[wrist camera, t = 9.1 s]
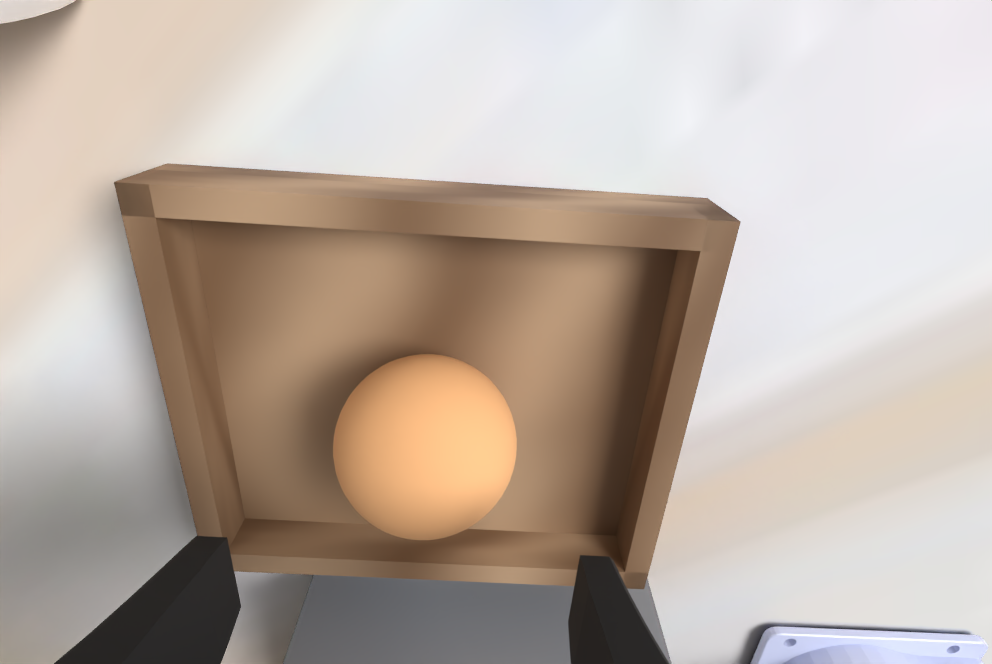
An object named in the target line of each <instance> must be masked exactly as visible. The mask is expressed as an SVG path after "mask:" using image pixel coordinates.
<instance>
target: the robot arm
mask: <svg viewBox="0 0 992 664" xmlns="http://www.w3.org/2000/svg"><path fill="white" fill-rule="evenodd" d="M240 608H241V604H240V599H239V594H238V589H237V584H236V579H235V574H234V569H233V564H232V559H231V554H230V549H229V544H228V539H227V537H209V536H196V537H195V538H194V539H193V540H191V541H190V542H189V543H188V544H187V545H186V546H185V547H184V548H183V549H182V550H181V551H179V552H178V553H177V554H176V555H175V556H174V557H173V558H172V559H171V560H170V561H169V562H168V563H167V564H166V565H165V566H163V567H162V568H161V569H160V570H159V571H158V572H157V573H156V574H155V575H154V576H153V577H152V578H151V579H150V580H148V581H147V582H146V583H145V584H144V585H143V586H142V587H141V588H140V589H139V590H138V591H137V592H135V593H134V594H133V595H132V596H131V597H130V598H129V599H128V600H127V601H126V602H124V603H123V604H122V605H121V606H120V607H119V608H118V609H117V610H115V611H114V612H113V613H112V614H111V615H110V616H109V617H108V618H107V619H105V620H104V621H103V622H102V623H101V624H100V625H99V626H98V627H97V628H95V629H94V630H93V631H92V632H91V633H90V634H89V635H87V636H86V637H85V638H84V639H83V640H82V641H80V642H79V643H78V644H77V645H76V646H74V647H73V648H72V649H71V650H70V651H68V652H67V653H66V654H65V655H64V656H62V657H61V658H60V659H59V660H58V661H56V662H55V663H54V664H220V663H221V661H222V659H223V656H224V654H225V651H226V648H227V645H228V643H229V640H230V637H231V634H232V631H233V628H234V625H235V622H236V619H237V617H238V614H239V611H240ZM568 630H569V645H570V659H571V664H670V663H669V662H668V660H667V659H666V657H665V655H664V654H663V652H662V650H661V649H660V647H659V645H658V644H657V642H656V640H655V639H654V637H653V635H652V633H651V632H650V630H649V628H648V626H647V625H646V623H645V621H644V619H643V618H642V616H641V614H640V612H639V610H638V608H637V607H636V605H635V603H634V601H633V599H632V597H631V595H630V593H629V591H628V589H627V587H626V585H625V583H624V582H623V579H622V577H621V575H620V573H619V571H618V569H617V567H616V565H615V563H614V561H613V560H612V559H611V558H610V557H609V556H589V555H580V558H579V563H578V569H577V574H576V580H575V585H574V591H573V597H572V602H571V608H570V613H569V619H568ZM987 649H988V645H987V643H986V642H985V641H984V640H983V638H982V637H980V636H978V635H968V634H944V633H921V632H897V631H874V630H850V629H827V628H803V627H780V626H776V627H771V628H768V629H767V630H765V632H764V633H763V635H762V638H761V640H760V642H759V645H758V647H757V649H756V652H755V654H754V657H753V659H752V661H751V664H984V663H983V662H982V660H981V658H982V657H983V656H984V654H985V653H986V651H987Z"/></svg>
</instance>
